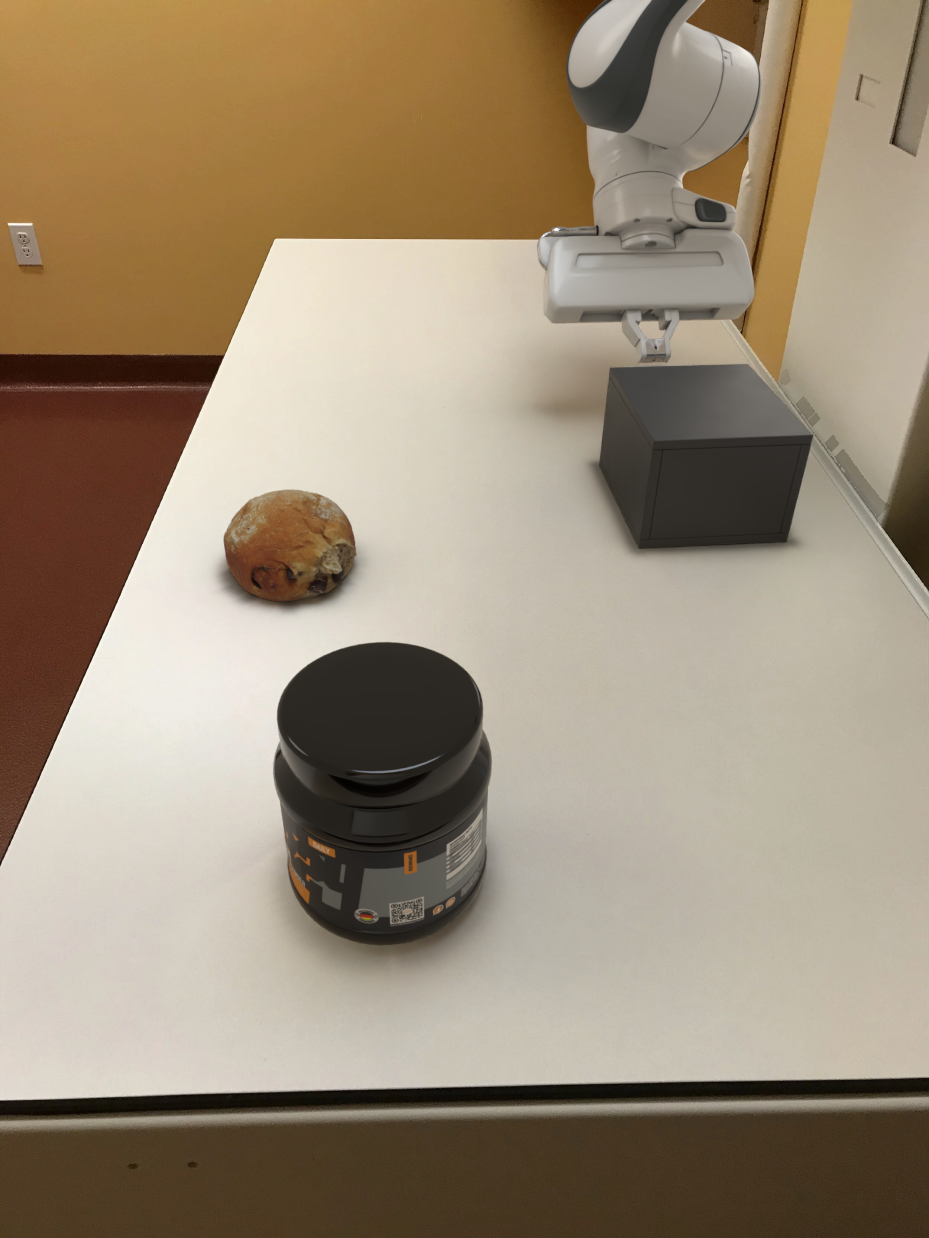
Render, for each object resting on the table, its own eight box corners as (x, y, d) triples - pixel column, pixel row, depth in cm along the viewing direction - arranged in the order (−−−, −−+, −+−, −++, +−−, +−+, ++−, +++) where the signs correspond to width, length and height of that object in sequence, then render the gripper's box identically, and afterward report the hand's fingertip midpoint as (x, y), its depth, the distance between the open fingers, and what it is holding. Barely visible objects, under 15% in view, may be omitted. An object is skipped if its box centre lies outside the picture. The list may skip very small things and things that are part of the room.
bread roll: (349, 574, 81) (335, 479, 79) (374, 591, 71) (358, 483, 69) (230, 593, 78) (213, 496, 76) (239, 614, 68) (219, 502, 67)
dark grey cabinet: (598, 465, 90) (609, 367, 84) (728, 460, 91) (748, 363, 85) (638, 548, 78) (653, 440, 72) (787, 541, 79) (814, 435, 74)
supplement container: (301, 798, 55) (281, 632, 48) (483, 797, 56) (489, 632, 49) (276, 957, 47) (246, 785, 40) (490, 956, 47) (499, 784, 40)
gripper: (541, 209, 89) (553, 349, 87) (752, 206, 91) (768, 343, 89) (530, 245, 96) (541, 376, 94) (728, 242, 98) (743, 371, 96)
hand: (654, 360), depth 92 cm, fingers closed
